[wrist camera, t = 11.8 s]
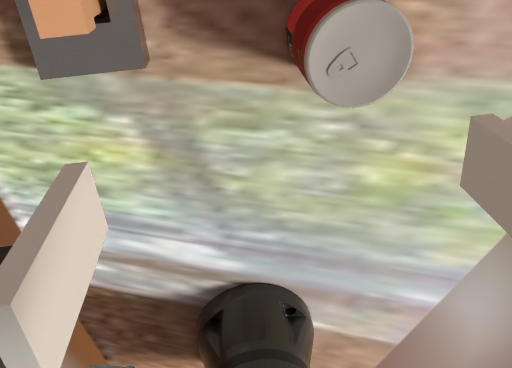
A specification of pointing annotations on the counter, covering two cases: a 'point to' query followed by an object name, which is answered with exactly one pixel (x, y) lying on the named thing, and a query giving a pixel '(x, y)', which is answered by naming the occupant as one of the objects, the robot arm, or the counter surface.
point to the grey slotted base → (90, 44)
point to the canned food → (349, 48)
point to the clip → (65, 16)
